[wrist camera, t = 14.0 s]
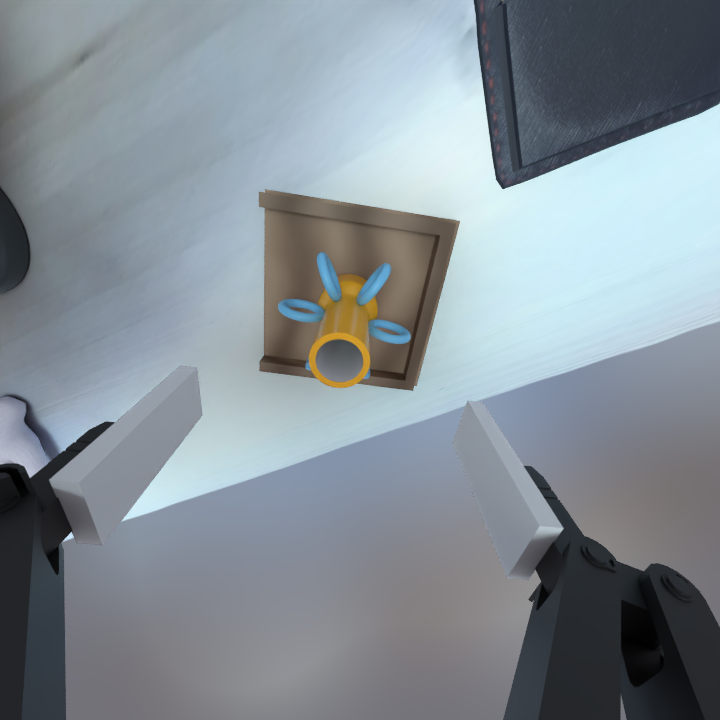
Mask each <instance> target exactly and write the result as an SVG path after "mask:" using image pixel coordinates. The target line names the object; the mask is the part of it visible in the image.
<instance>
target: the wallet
mask: <svg viewBox="0 0 720 720" xmlns="http://www.w3.org/2000/svg"><path fill="white" fill-rule="evenodd" d="M474 5H475V12H476V23H477V38H478V49H479V57H480V65H481V72H482V80H483V88H484V96H485V104H486V111H487V119H488V127H489V134H490V142H491V149H492V157H493V163H494V169H495V175H496V180H497V181H498V183H499V184H500V186H501V187H502V189H505V188H508V187H511V186H513V185H516V184H519V183H522V182H525V181H527V180H530V179H532V178H535V177H538V176H540V175H543V174H545V173H548V172H550V171H553V170H555V169H557V168H560V167H562V166H565V165H567V164H570V163H572V162H574V161H577V160H579V159H582V158H584V157H587V156H589V155H592V154H594V153H596V152H599V151H601V150H604V149H606V148H609V147H611V146H614V145H617V144H619V143H622V142H625V141H627V140H630V139H633V138H635V137H638V136H641V135H643V134H646V133H649V132H651V131H654V130H657V129H659V128H662V127H665V126H667V125H670V124H673V123H675V122H678V121H681V120H684V119H687V118H689V117H692V116H695V115H698V114H700V113H702V112H704V111H706V110H708V109H710V108H712V107H714V106H716V105H718V104H719V103H720V0H474Z"/></svg>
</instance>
